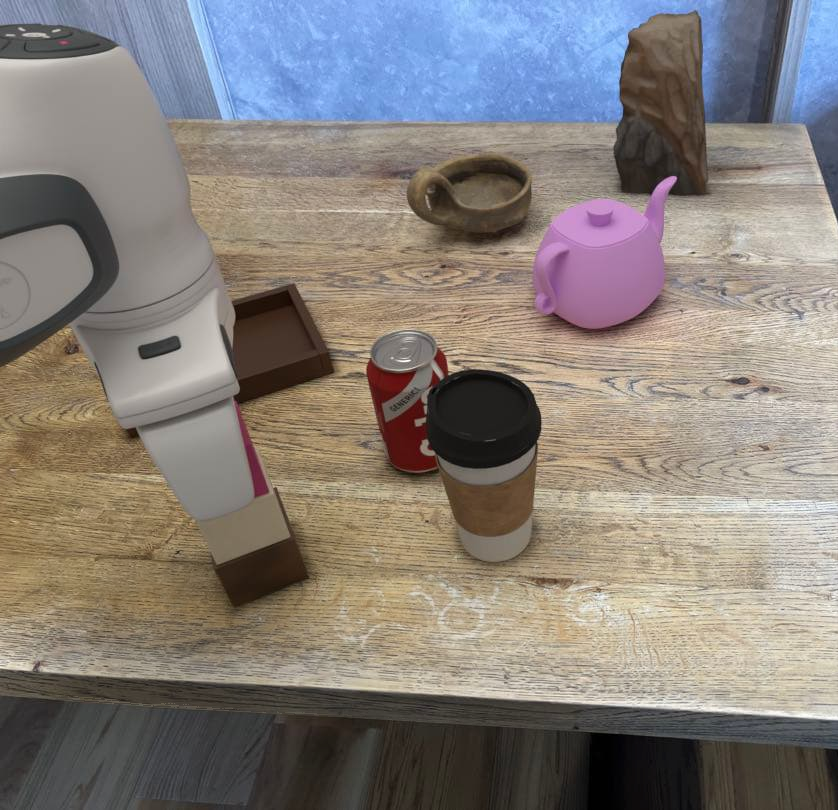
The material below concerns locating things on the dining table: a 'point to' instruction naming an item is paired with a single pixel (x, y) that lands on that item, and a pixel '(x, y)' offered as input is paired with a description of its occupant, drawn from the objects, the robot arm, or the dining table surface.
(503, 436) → the coffee cup
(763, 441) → the dining table surface
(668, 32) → the brown rock
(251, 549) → the cream block
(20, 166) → the robot arm
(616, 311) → the teapot
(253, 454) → the pink block
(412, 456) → the soda can
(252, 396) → the tray
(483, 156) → the bowl
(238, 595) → the walnut block
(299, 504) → the dining table surface
